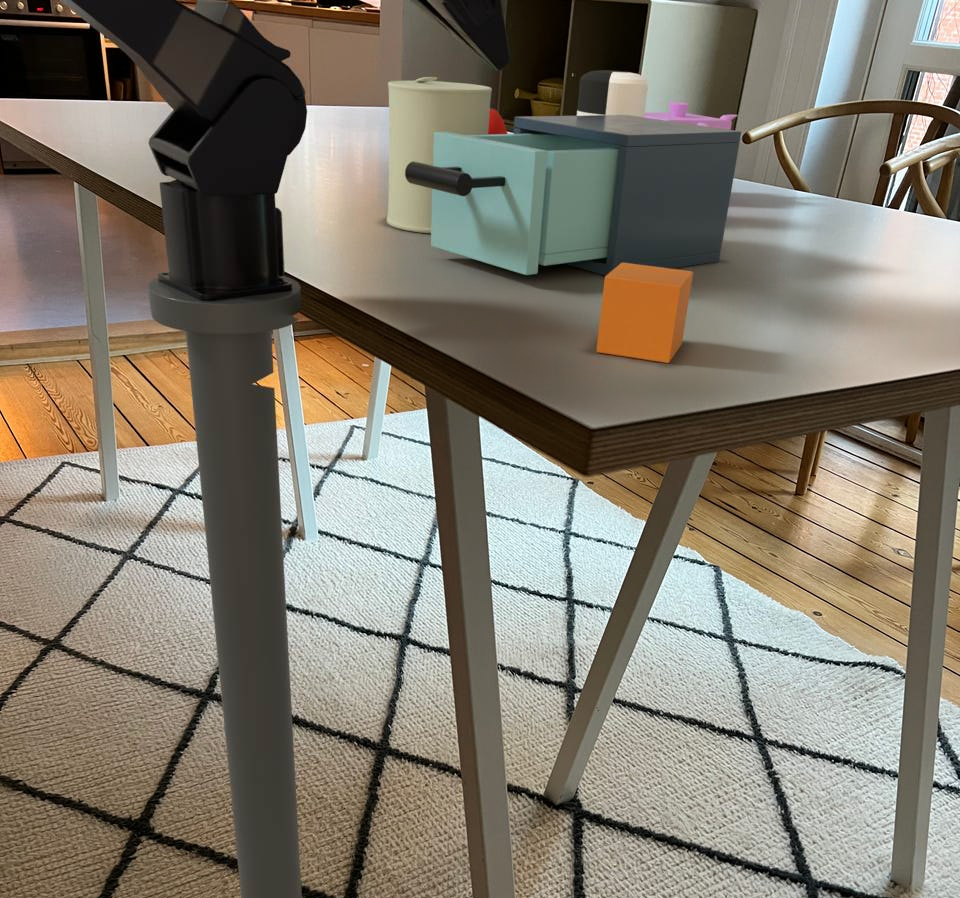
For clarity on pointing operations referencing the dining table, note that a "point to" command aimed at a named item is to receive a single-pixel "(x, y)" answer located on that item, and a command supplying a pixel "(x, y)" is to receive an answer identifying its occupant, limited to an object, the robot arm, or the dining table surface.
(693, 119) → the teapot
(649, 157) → the small storage cabinet
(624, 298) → the orange rectangular prism
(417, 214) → the can
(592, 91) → the container
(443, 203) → the drawer
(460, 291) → the dining table surface
